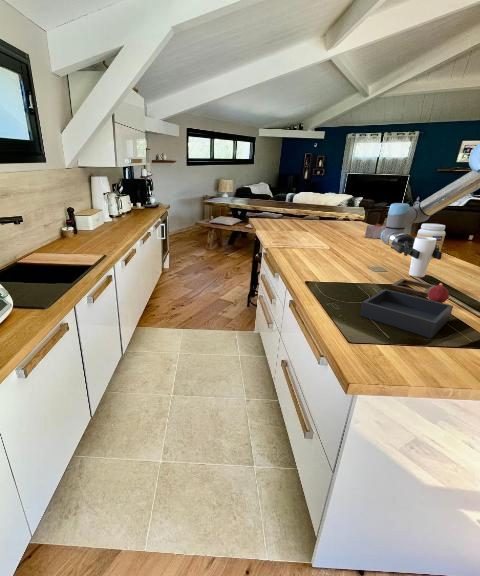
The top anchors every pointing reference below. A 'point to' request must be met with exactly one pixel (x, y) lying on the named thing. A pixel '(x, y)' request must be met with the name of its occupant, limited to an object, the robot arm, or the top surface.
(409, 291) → the small square dish
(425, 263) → the drinking glass
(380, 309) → the dark grey tray
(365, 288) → the top surface
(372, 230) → the food item
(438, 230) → the supplement tub
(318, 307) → the top surface
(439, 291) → the onion
